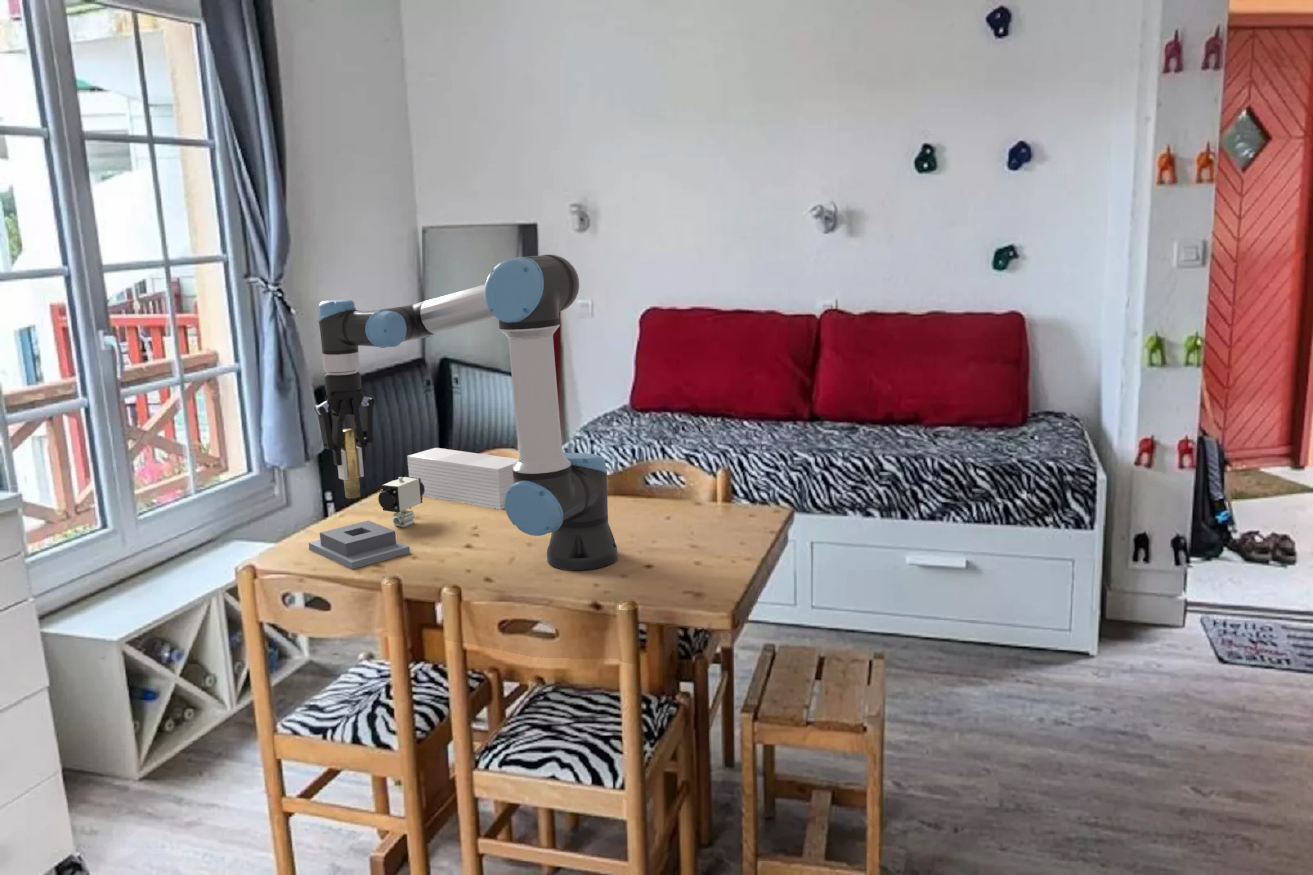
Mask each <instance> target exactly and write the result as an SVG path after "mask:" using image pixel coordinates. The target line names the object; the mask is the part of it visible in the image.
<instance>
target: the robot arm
mask: <svg viewBox="0 0 1313 875" xmlns="http://www.w3.org/2000/svg"><path fill="white" fill-rule="evenodd" d="M579 289H580V278H579V274H578V272H577V270H576V268H575V267H574V266H573V264H571V262H570V261H568V260H567V259H566V258H564V257H562V256H559V255H555V254H543V255H541V254H540V255H530V256H517V257H512V258H509V259H505V260H503V261H501V262H499V263H498V264H496V266H494V268H493V269H492V270H491V271H490V272H489V274H488V275H487V279H486V281H485V283H484V284H481V285H477V286H474V287H470V288H467V289H463V290H460V291H456V292H452V293H449V294H445V295H443V296H439V297H435V298H431V299H428V300H424V301H420V302H417V303H412V304H408V305H402V306H396V307H388V308H384V309H383V308H381V309H373V310H370V309H369V310H367V309H365V310H359V309H357V308H356V305H355V301H354V300H352V299H345V298H344V299H343V298H341V299H340V298H339V299H328V300H323V301H321V302H319V304H318V320H317V321H318V324H319V325H318V326H319V332H320V341H321V343H320V344H321V354H322V366H323V371H324V372H325V374H323V375H324V376H323V379H324V389H325V392H326V395H325V397H324V401H323V402H322V403H320V404H316V405H314V407H313V409H314V411H315V413H316V415H317V417H318V418H317V419H318V422H319V428H320V435H321V439H322V445H323V448H324V449H325V450H326V449H327V450H328V451H329V450H330V451H332V457H333V464H334V465H335V466H337V473H338V479H339V480H343V481H344V480H348V475H347V464H346V453H345V451H344V450H342V436H343V429H344V421H345V419H346V418H345V417H346V416H347V417H348V419H349V422H350V427H351V429H355V438H356V449H357V461H358V473H359V478H362V477H365V473H364V462H363V461H365V460H366V448H367V446H368V444H370V443H372V442H373V441H374V438H373V437H374V434H373V433H374V432H373V431H374V430H373V429H374V428H373V427H374V426H373V423H374V420H373V415H374V414H373V412H374V411H373V409H374V405H375V402H376V400H375V398H373V397H368V396H365V395H364V393H363V391H362V378H361V376H362V375H361V373H360V371H359V370H360V369H361V366H360V355H359V354H360V353H359V346H361V347H374V348H375V347H376V348H380V349H381V348H383V349H385V348H395V347H398V346H400V345H401V344H402V343H403V342H406V341H413V340H417V339H418V340H419V339H425V338H429V337H432V336H434V335H437V334H441V333H445V332H449V331H453V330H457V329H460V328H461V329H462V328H465V327H469V326H473V325H476V324H480V323H485V322H488V321H492V320H496V319H498V327H499V331H500V332H501V333H502V334H503V335H504V336H506V337H507V340H508V350H509V351H508V352H509V360H510V361H509V362H510V371H511V381H512V382H511V384H512V393H513V402H514V403H513V405H514V414H515V424H516V436H517V437H516V438H517V447H518V459H519V460H518V461H517V462H516V463H515V465H514V466H513V480H514V484H512V485H511V486H510V488H509V490H508V491H507V493H506V495H505V500H504V504H505V508H504V510H505V514H506V515H507V518H508V519H509V521H510V522H511V524H512V525H514V526H516V527H517V529H518V530H519V531H520V532H521V533H524V534H526V535H529V536H533V537H539V536H540V537H541V536H545V535H548V534H550V533H551V536H550V540H549V544H548V546H547V550H546V559H547V560H546V561H547V563H548V565H549V566H552V567H553V568H557V569H561V570H567V571H587V570H594V569H595V570H596V569H600V568H604V567H607V566H610V565H611V564H613V563H615V562H616V561H617V560H618V556H619V554H618V546H617V543H616V540H615V537H614V534H613V532H612V529H611V527H610V523H609V516H608V514H609V513H608V511H609V509H608V505H609V504H608V479H607V474H608V472H607V467H606V466H607V465H606V459H605V458H604V457H603V456H602V455H599V454H595V453H589V452H588V453H587V452H586V453H585V452H563V445H562V444H563V442H562V432H561V420H560V406H559V395H558V394H559V393H558V384H557V372H556V371H557V370H556V361H555V360H556V358H555V348H554V346H555V345H554V334H555V333H556V331H557V330H558V328H559V327H561V324H560V312H563V311H566V309H568V308H569V307H571V305H573V303H574V302H575V301H576V299H577V297H578V294H579ZM360 406H362V408H361V409H362V410H361V414H362V416H361V414H360V410H359V408H360ZM329 409H330V410H331V413H332V414H331V418H332V429H331V422H330V417H329V414H328V413H329ZM360 416H361V417H362V418H361V419H360ZM361 422H362V423H361Z"/></svg>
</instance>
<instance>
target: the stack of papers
mask: <svg viewBox="0 0 1313 875" xmlns="http://www.w3.org/2000/svg"><path fill="white" fill-rule="evenodd" d="M406 458H407V466H408V467H407V468H408V477H414V478H421V482H422V483H423V485H424V488H425V492H424V494H423V495H422V497H426V498H432V499H437V500H444V501H449V502H456V503H460V502H464V503H463V504H466V503H468V504H467V505H473V506H477V505H478V506H477V507H483V508H489V507H490V509H494V508H496V510H502V509H505V504H504V500H505V495H506V493H507V491H508V490H509V488H510V486H511V485H512V484H514V480H513V466H514V465H515V463H516V462H517V461H518V460H519V458H515V457H508V456H507V457H506V456H505V457H504V456H498V455H491V454H484V453H479V452H478V453H477V452H469V451H462V450H455V449H450V448H449V449H447V448H442V447H441V448H440V447H433V448H429V449H426V450H422V451H419V452H417V453H413V454H409V455H407V457H406Z"/></svg>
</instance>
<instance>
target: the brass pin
mask: <svg viewBox="0 0 1313 875" xmlns="http://www.w3.org/2000/svg"><path fill="white" fill-rule="evenodd" d="M356 446H357V445H356V438H355V429H352V428H343V436H342V450H344V451H345V453H346V464H347V475H348V480H343V484H344V492H345V493H344V495H345V496H344V497H345V498H346V499H357V498H360V497H361V486H360V477H359V473H358V461H357V449H356Z"/></svg>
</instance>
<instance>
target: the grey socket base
mask: <svg viewBox="0 0 1313 875" xmlns="http://www.w3.org/2000/svg"><path fill="white" fill-rule="evenodd" d="M308 549H309V550H310V549H311V550H310V551H313V552H314V553H317V554H319V555H321V556H323V557H325V558H328V559H329V560H332V561H334V562H337V563H338V564H340V565H343V566H344V565H345V567H346V568H349V569H351V570H353V569H357V568H361V567H364V566H368V565H372V564H375V563H376V564H377V563H379V561H380V562H382V561H386V560H389V559H393V558H396V556H398V557H400V556H404V555H407V554H410V553H411V548H410V546H409V545H406V544H404V543H402V542H400V541H397V538H396V531H395V530H393V529H391V528H388V527H386V526H383V525H380V524H378V523H375V522H373V521H371V520H365V521H361V522H357V523H353V524H349V525H345V526H340V527H337V528H333V529H329V530H325V531H320V532H319V540H314V541H310V542H308Z"/></svg>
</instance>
